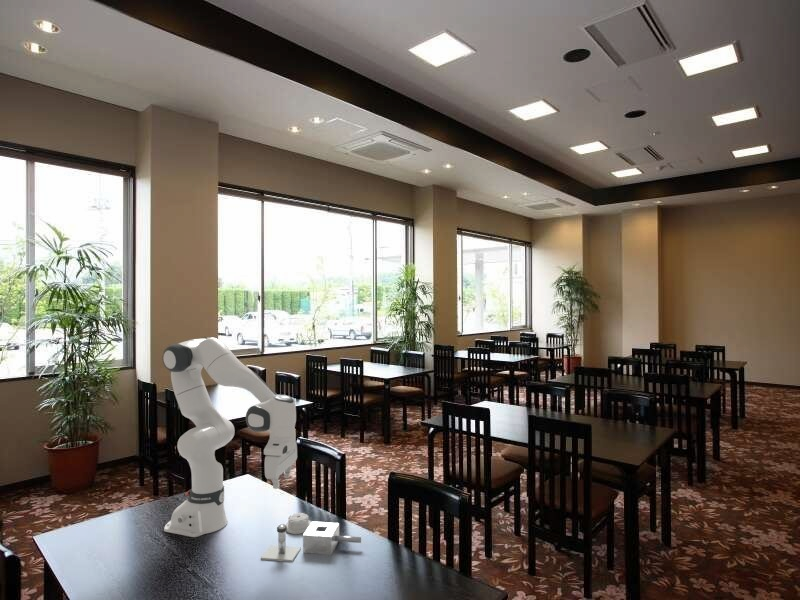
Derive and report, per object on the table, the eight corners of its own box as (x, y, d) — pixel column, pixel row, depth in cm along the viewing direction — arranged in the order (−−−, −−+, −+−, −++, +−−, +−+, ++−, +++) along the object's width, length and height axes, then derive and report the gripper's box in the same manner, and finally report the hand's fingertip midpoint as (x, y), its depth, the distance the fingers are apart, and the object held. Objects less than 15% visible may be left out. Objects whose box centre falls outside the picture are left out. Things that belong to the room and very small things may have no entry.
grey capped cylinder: (275, 554, 158) (275, 527, 158) (279, 549, 161) (279, 523, 161) (284, 555, 158) (284, 528, 158) (288, 550, 161) (288, 523, 161)
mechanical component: (307, 535, 173) (314, 522, 183) (307, 523, 173) (314, 511, 183) (281, 534, 174) (289, 521, 184) (281, 522, 174) (289, 510, 184)
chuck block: (303, 552, 161) (303, 534, 161) (312, 537, 170) (312, 521, 170) (357, 556, 158) (357, 538, 158) (363, 541, 168) (363, 524, 168)
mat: (260, 559, 156) (260, 557, 156) (270, 547, 164) (270, 545, 164) (292, 561, 155) (292, 560, 155) (300, 549, 163) (300, 547, 163)
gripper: (285, 433, 174) (284, 471, 174) (261, 451, 154) (260, 493, 154) (301, 434, 173) (301, 472, 173) (279, 452, 153) (278, 495, 153)
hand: (281, 482), depth 163 cm, fingers open, 8 cm apart
